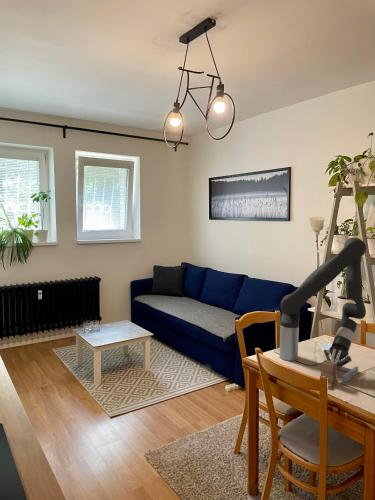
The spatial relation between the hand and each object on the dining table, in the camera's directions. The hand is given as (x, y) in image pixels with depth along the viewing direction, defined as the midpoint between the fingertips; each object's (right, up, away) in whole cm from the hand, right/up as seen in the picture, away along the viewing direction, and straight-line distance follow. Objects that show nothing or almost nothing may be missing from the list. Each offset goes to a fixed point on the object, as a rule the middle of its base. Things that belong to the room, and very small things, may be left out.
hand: (331, 372), depth 166 cm
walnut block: (-3, -4, -3) cm, 6 cm away
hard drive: (+14, -1, +40) cm, 42 cm away
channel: (+8, -3, +8) cm, 12 cm away
